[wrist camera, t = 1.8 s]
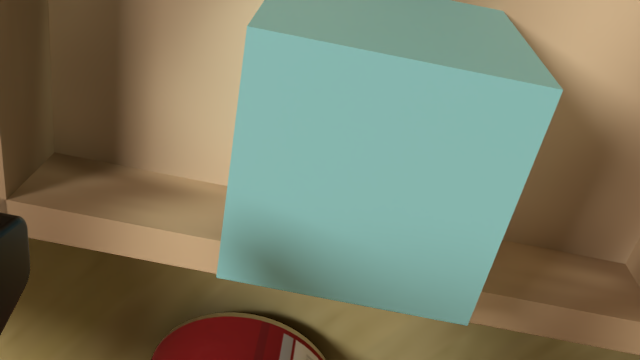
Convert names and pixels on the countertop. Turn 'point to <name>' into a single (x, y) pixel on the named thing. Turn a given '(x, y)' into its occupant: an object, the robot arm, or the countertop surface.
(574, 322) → the crate
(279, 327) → the soda can
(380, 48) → the cube
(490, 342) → the countertop surface
